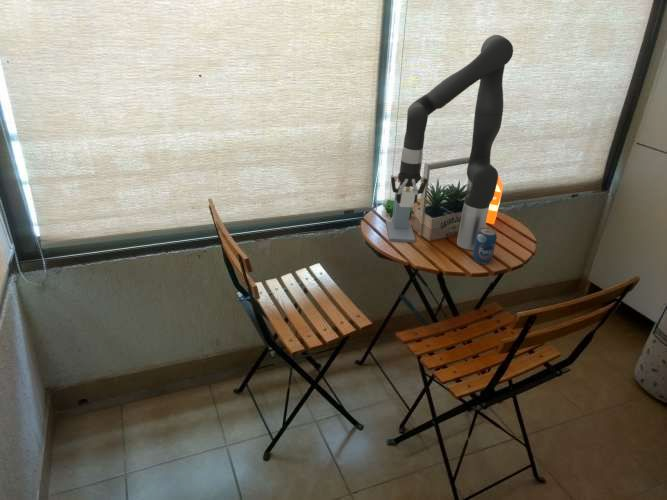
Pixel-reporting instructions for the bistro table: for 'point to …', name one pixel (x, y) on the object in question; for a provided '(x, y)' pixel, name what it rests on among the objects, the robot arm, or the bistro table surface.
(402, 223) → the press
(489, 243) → the soda can
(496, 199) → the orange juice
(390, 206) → the clamp
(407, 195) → the block
